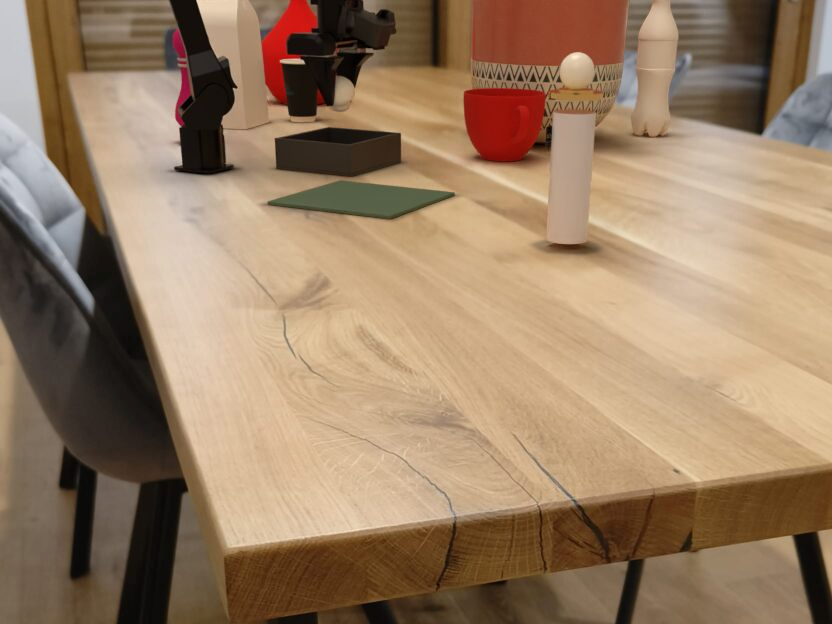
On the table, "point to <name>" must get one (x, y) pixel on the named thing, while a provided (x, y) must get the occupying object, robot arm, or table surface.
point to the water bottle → (655, 70)
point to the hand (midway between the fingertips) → (338, 104)
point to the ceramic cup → (503, 121)
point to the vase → (274, 45)
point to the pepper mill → (182, 63)
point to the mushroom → (343, 94)
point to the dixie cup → (299, 90)
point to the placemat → (362, 199)
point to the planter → (548, 48)
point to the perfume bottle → (571, 154)
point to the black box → (338, 151)
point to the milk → (239, 58)
